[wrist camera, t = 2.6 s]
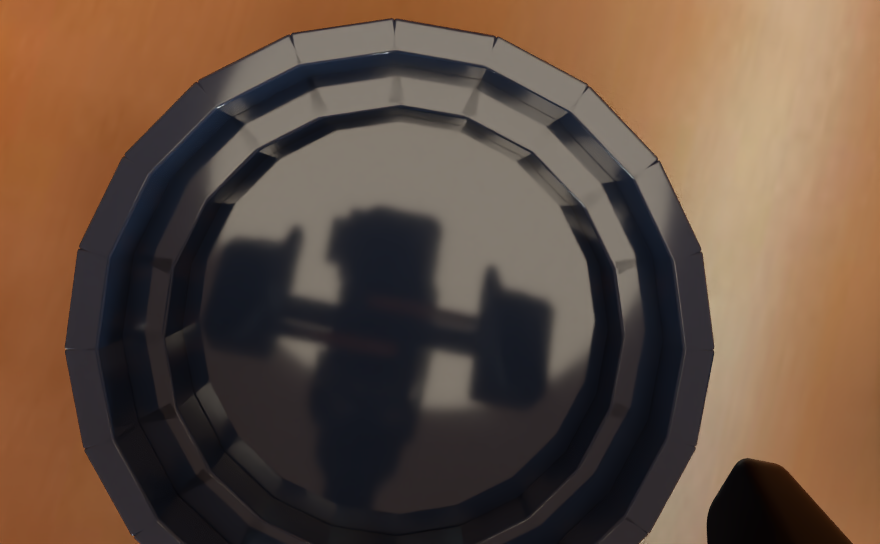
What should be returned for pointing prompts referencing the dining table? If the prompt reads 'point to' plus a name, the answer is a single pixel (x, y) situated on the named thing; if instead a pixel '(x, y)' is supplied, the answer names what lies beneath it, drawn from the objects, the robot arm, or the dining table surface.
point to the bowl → (389, 304)
